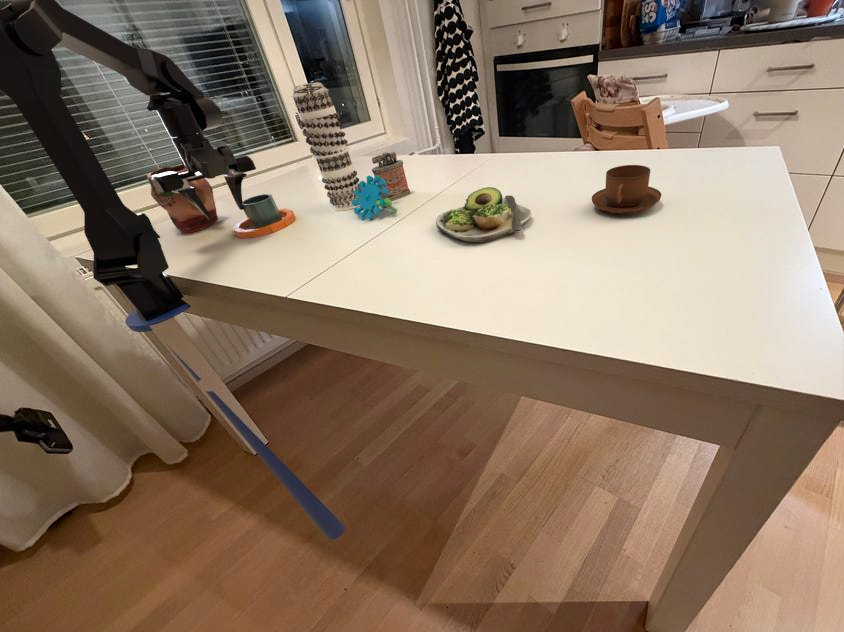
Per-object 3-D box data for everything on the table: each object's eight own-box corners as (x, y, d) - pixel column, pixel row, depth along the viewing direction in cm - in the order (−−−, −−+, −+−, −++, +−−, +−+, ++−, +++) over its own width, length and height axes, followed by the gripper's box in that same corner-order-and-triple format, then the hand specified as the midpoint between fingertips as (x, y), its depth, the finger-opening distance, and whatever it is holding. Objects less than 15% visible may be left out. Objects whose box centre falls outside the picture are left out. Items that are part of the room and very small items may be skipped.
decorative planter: (247, 218, 102) (217, 160, 93) (205, 238, 94) (168, 176, 85) (202, 215, 110) (170, 161, 101) (160, 233, 102) (121, 177, 93)
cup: (261, 232, 91) (248, 206, 88) (248, 227, 95) (235, 202, 91) (288, 221, 95) (276, 195, 91) (275, 217, 99) (263, 192, 95)
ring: (251, 241, 87) (248, 235, 86) (227, 232, 95) (223, 226, 94) (305, 218, 95) (303, 212, 94) (278, 211, 102) (276, 206, 101)
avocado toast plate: (558, 225, 71) (558, 199, 68) (471, 257, 66) (466, 230, 63) (504, 200, 85) (502, 178, 82) (428, 225, 80) (423, 202, 77)
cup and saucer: (665, 216, 67) (671, 178, 63) (593, 221, 70) (594, 185, 66) (653, 192, 76) (658, 158, 72) (589, 198, 79) (590, 165, 75)
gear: (343, 210, 89) (360, 168, 88) (362, 221, 95) (378, 181, 93) (375, 223, 84) (394, 179, 83) (394, 234, 89) (411, 192, 88)
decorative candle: (348, 212, 93) (303, 86, 78) (323, 210, 98) (276, 90, 82) (374, 198, 99) (338, 78, 83) (349, 197, 103) (310, 82, 87)
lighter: (406, 191, 100) (395, 147, 94) (413, 193, 98) (402, 149, 92) (378, 201, 97) (365, 157, 91) (385, 203, 95) (372, 158, 88)
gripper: (145, 145, 68) (195, 233, 78) (249, 125, 79) (282, 205, 88) (129, 144, 75) (177, 226, 84) (227, 126, 85) (260, 200, 95)
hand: (226, 214), depth 88 cm, fingers open, 7 cm apart
